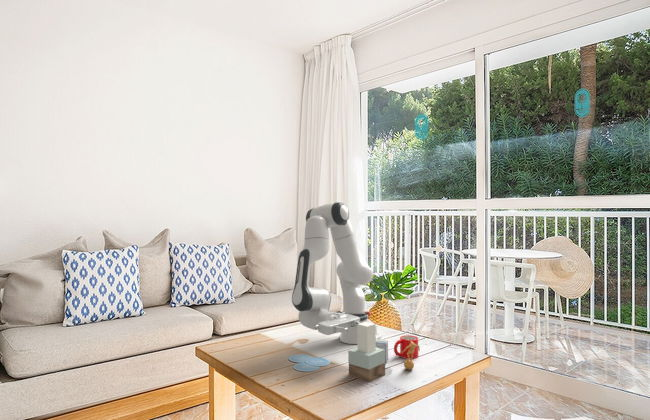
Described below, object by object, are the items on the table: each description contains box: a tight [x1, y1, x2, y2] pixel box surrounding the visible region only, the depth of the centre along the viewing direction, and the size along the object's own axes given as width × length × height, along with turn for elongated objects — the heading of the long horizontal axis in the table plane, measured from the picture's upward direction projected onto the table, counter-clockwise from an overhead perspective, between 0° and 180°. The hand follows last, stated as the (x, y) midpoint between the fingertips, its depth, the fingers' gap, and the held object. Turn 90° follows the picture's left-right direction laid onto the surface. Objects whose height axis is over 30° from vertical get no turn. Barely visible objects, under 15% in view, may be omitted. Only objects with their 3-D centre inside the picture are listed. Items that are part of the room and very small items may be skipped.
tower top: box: [347, 347, 386, 369], centre depth 164 cm, size 10×10×5 cm
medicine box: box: [376, 338, 389, 364], centre depth 180 cm, size 8×4×9 cm, turn 71°
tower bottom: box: [348, 363, 386, 383], centre depth 164 cm, size 10×10×5 cm
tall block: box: [356, 322, 377, 353], centre depth 164 cm, size 5×5×10 cm
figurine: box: [402, 341, 421, 371], centre depth 169 cm, size 8×6×12 cm
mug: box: [393, 334, 419, 360], centre depth 186 cm, size 8×12×8 cm, turn 119°
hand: (354, 328), depth 169 cm, fingers open, 8 cm apart
